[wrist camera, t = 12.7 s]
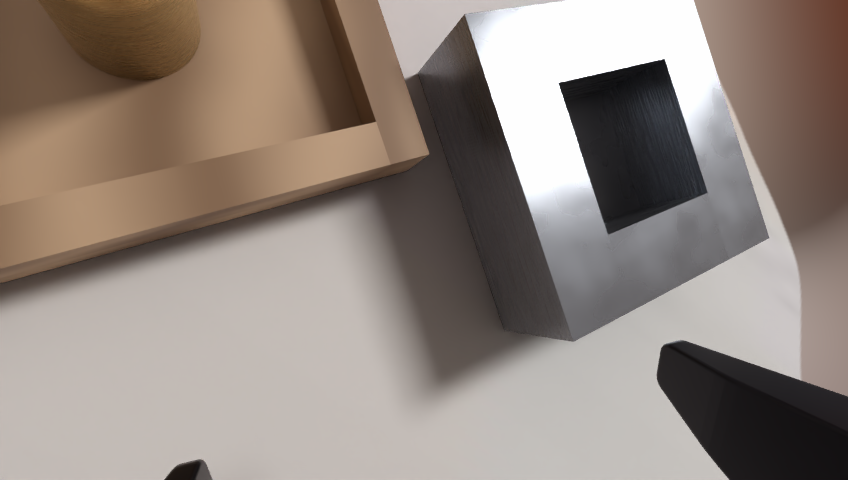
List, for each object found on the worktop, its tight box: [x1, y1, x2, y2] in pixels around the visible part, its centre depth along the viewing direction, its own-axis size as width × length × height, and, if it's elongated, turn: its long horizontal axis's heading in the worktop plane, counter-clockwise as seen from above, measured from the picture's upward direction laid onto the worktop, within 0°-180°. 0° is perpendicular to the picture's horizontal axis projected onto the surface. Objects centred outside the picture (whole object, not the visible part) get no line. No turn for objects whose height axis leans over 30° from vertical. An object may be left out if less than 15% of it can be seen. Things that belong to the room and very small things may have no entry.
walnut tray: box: [0, 0, 429, 283], centre depth 14 cm, size 16×14×2 cm
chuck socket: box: [418, 0, 769, 342], centre depth 20 cm, size 12×12×4 cm
